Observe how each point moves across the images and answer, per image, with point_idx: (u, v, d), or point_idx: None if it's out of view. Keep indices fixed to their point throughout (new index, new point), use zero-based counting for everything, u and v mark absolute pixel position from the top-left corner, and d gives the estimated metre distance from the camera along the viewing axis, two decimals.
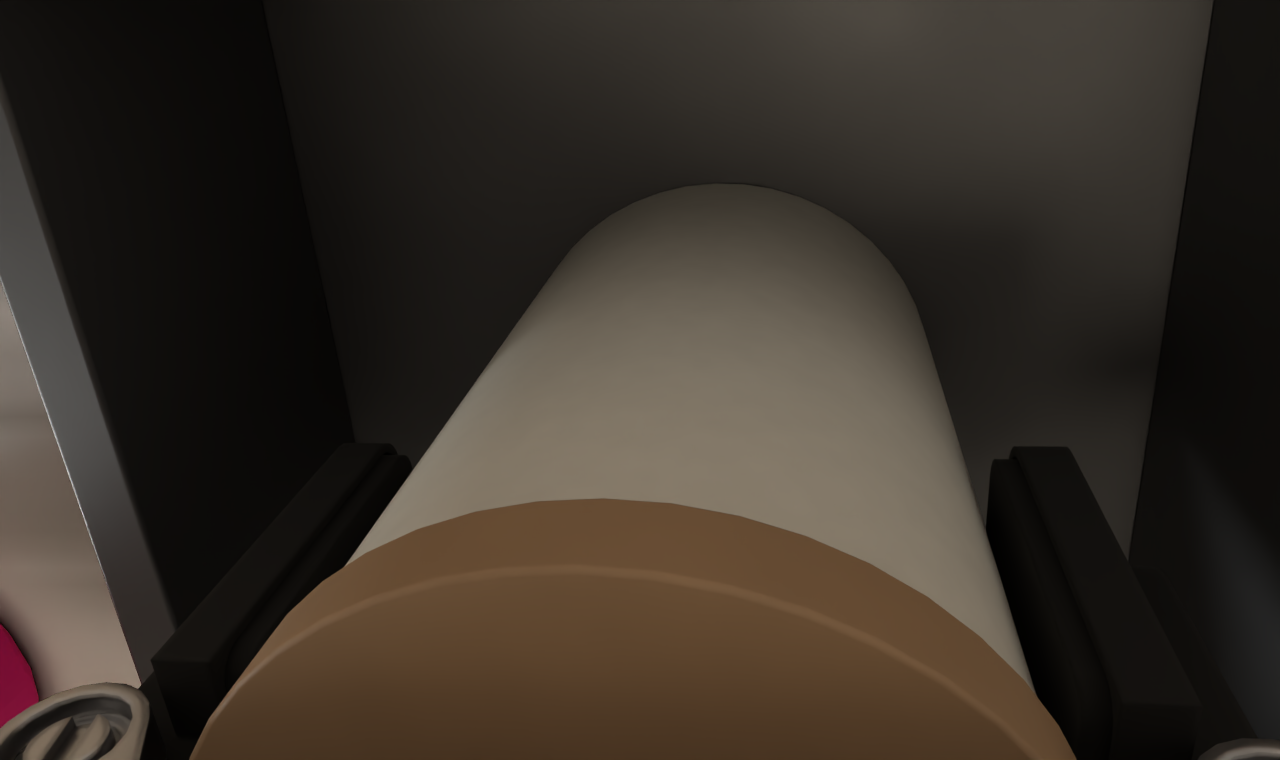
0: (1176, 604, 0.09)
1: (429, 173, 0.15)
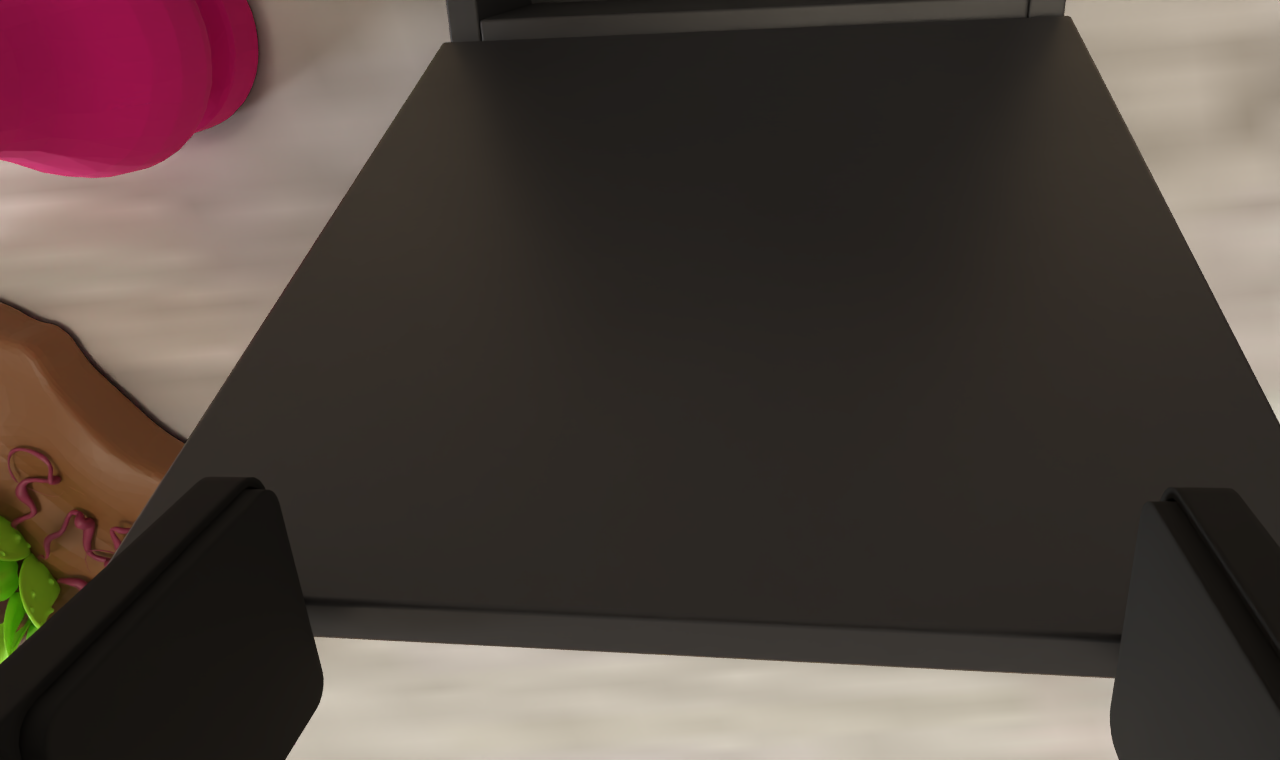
0: None
1: None
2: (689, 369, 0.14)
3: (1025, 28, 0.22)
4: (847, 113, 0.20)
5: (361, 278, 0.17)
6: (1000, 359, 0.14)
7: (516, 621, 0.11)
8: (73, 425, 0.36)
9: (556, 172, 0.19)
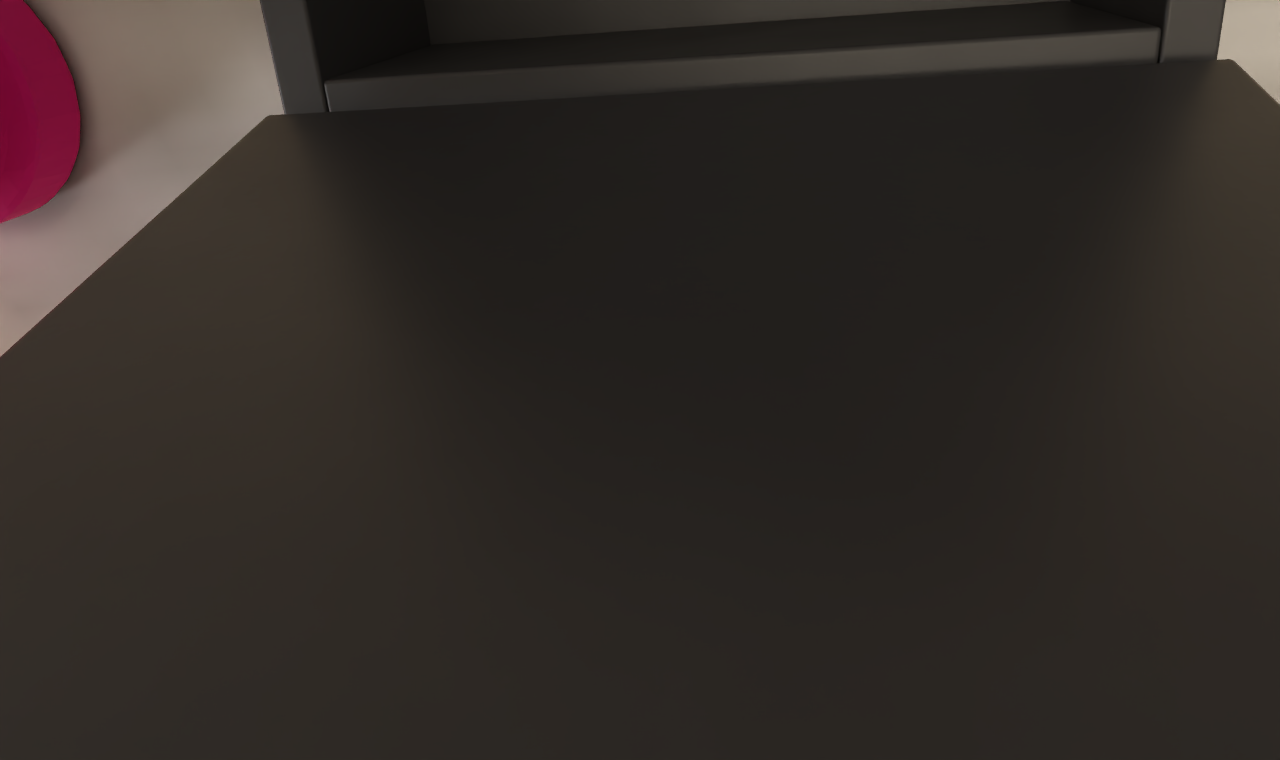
0: None
1: None
2: None
3: (1165, 78, 0.14)
4: (887, 216, 0.11)
5: None
6: None
7: None
8: None
9: (363, 327, 0.10)
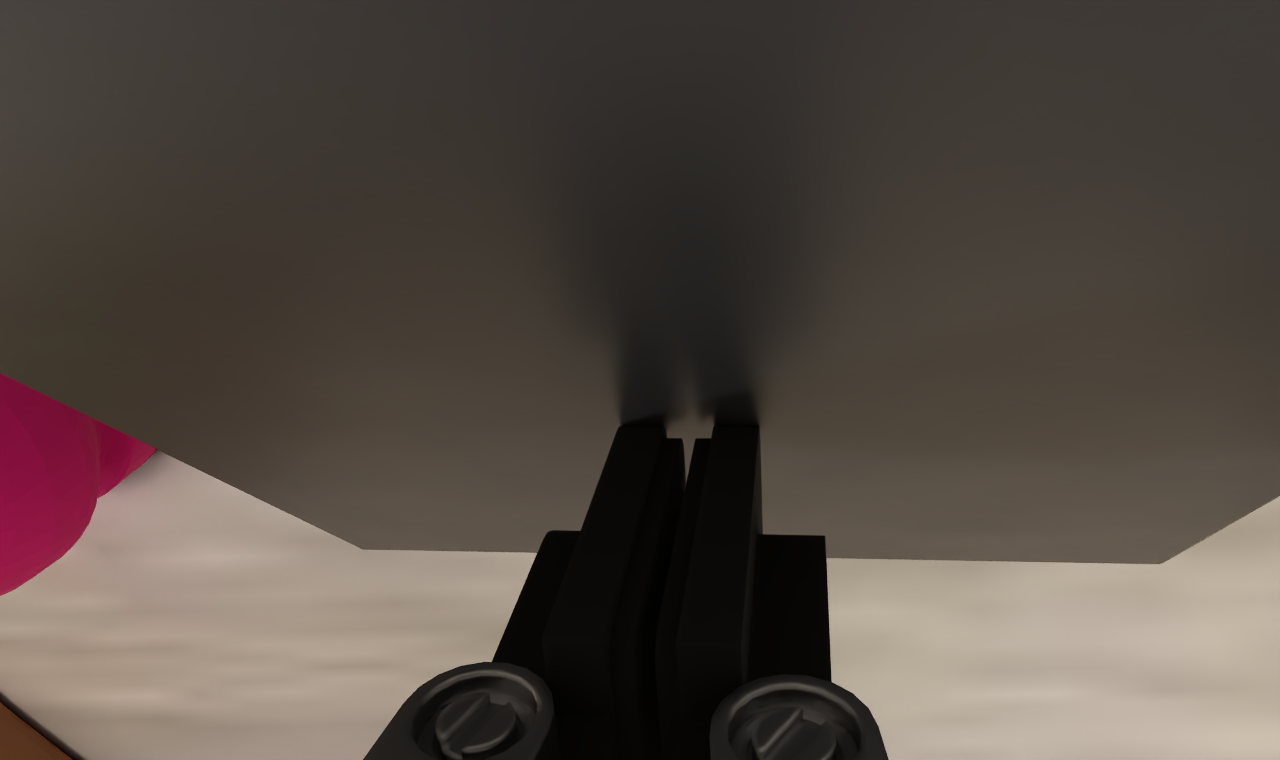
0: (826, 568, 0.10)
1: None
2: None
3: None
4: None
5: None
6: None
7: None
8: None
9: None
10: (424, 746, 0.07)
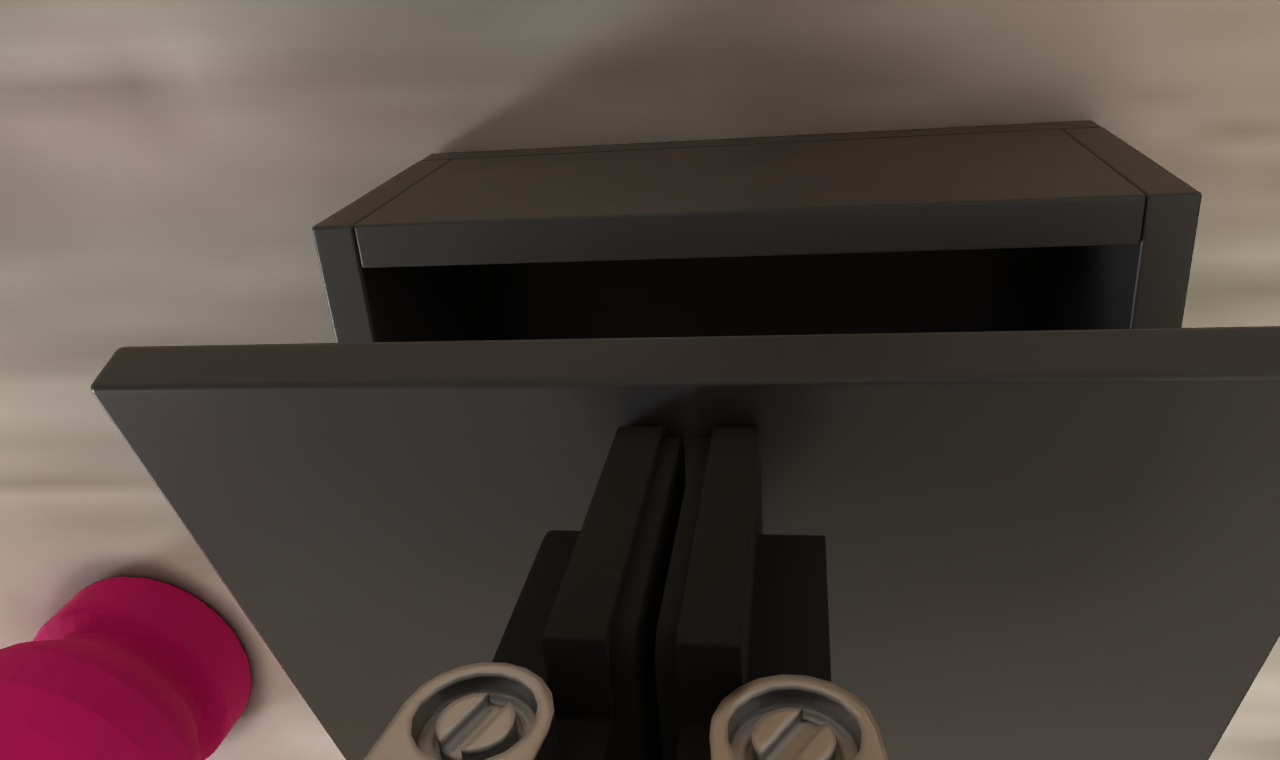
0: (826, 567, 0.10)
1: (564, 334, 0.24)
2: None
3: None
4: None
5: None
6: None
7: (526, 348, 0.12)
8: None
9: None
10: (424, 746, 0.07)
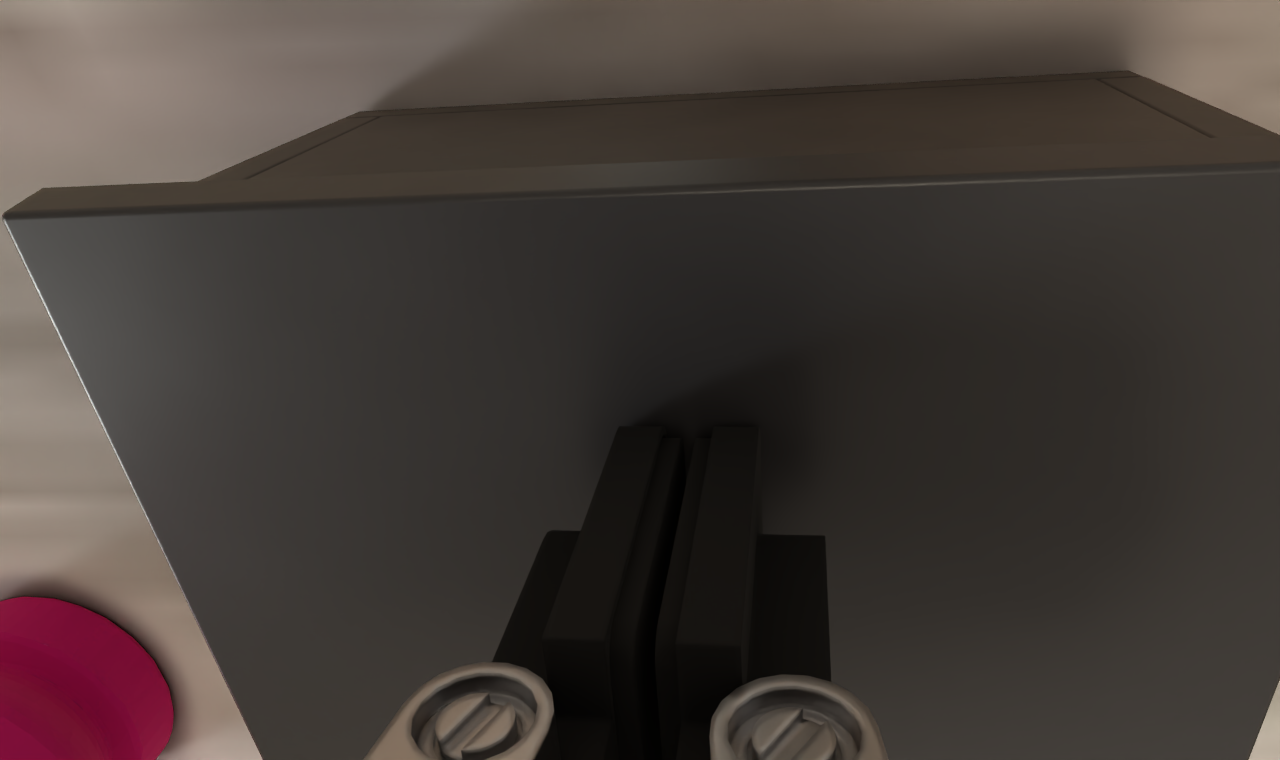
0: (825, 567, 0.10)
1: None
2: None
3: None
4: None
5: None
6: None
7: (483, 172, 0.11)
8: None
9: None
10: (424, 746, 0.07)
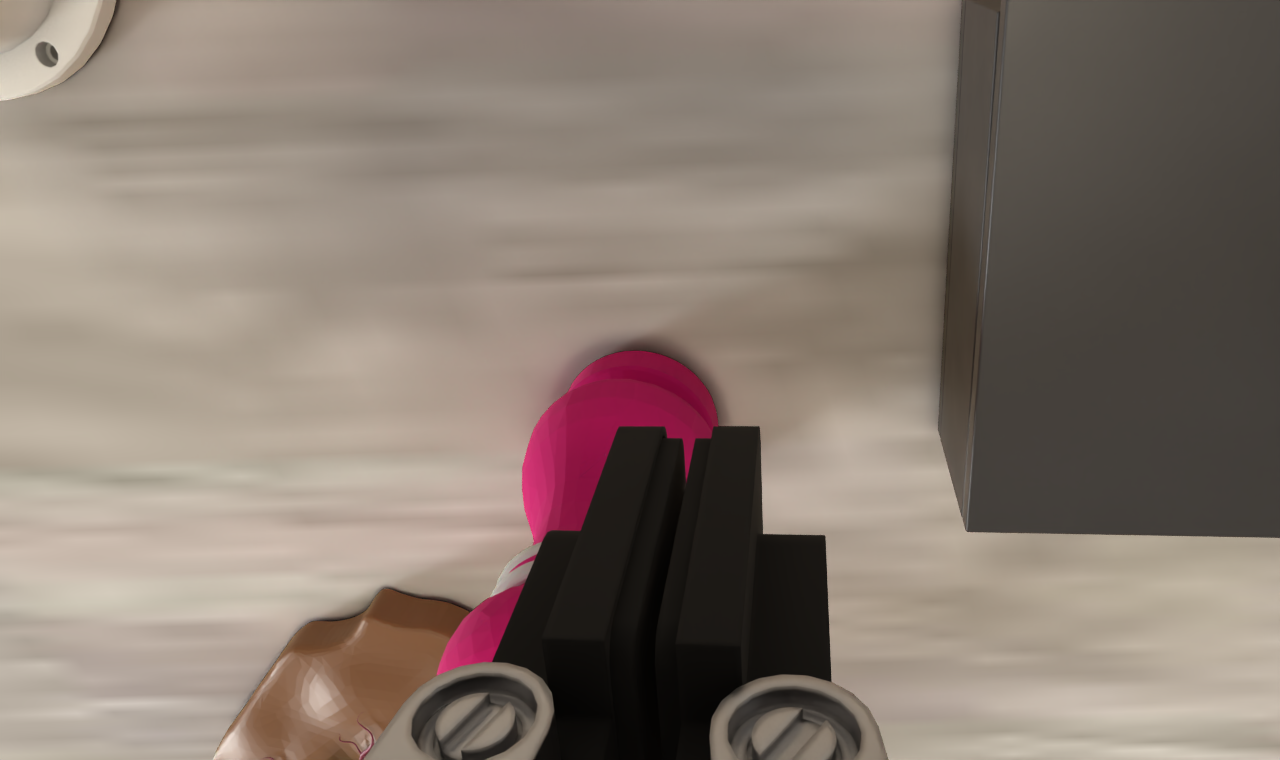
0: (826, 567, 0.10)
1: None
2: None
3: None
4: None
5: None
6: None
7: None
8: None
9: None
10: (424, 746, 0.07)
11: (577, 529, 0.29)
